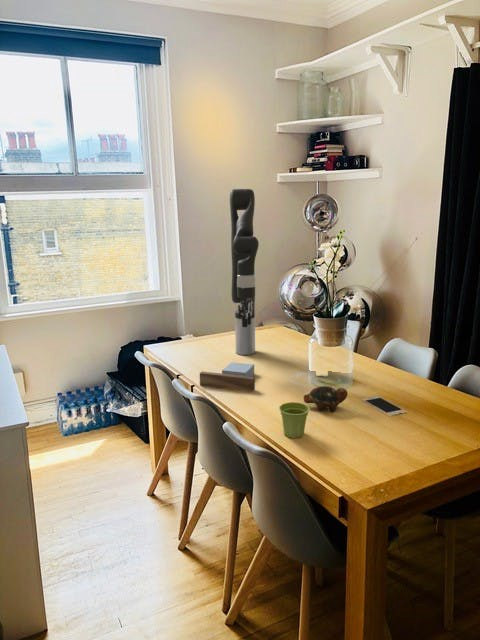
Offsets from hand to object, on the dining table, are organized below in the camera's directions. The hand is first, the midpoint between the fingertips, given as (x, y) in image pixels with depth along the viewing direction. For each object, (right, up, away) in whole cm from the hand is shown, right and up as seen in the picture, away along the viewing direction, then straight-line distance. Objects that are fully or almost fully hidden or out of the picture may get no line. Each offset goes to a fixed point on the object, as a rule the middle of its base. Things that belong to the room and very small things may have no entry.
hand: (246, 325), depth 218 cm
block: (-3, -21, -5) cm, 22 cm away
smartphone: (+47, -28, -37) cm, 66 cm away
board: (-8, -24, -17) cm, 30 cm away
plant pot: (+14, -33, -57) cm, 68 cm away
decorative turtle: (+27, -29, -38) cm, 54 cm away
